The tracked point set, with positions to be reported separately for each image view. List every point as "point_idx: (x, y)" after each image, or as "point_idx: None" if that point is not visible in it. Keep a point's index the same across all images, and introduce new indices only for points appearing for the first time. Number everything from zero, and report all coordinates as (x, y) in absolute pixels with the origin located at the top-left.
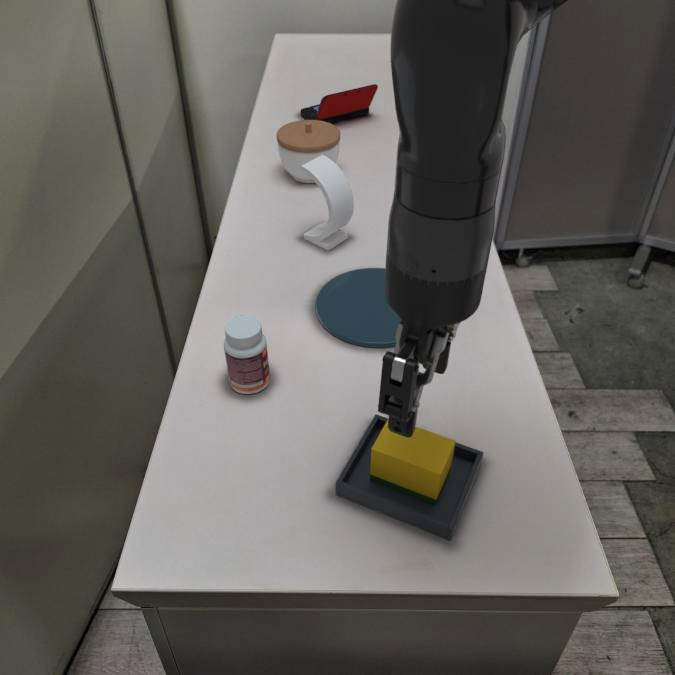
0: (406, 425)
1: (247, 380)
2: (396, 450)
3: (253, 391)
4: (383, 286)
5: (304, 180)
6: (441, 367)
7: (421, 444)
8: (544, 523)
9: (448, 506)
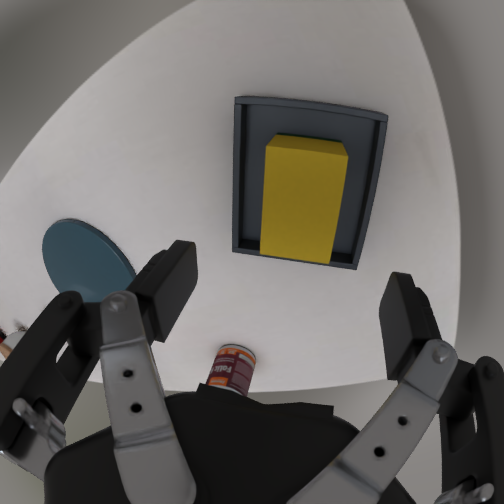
0: (432, 315)
1: (249, 369)
2: (321, 231)
3: (250, 354)
4: (66, 278)
5: None
6: (187, 256)
7: (296, 197)
8: (307, 3)
9: (335, 123)
